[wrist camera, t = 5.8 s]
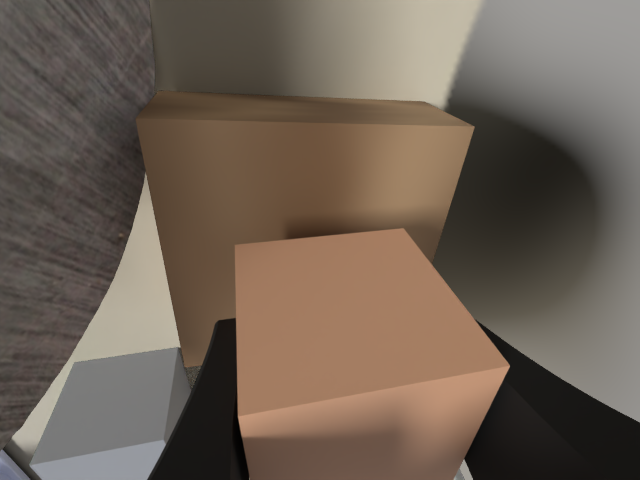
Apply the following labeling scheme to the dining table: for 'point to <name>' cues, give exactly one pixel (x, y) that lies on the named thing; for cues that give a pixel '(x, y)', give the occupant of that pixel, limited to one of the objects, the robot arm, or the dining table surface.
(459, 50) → the dining table surface
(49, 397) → the dining table surface
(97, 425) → the slate grey cube
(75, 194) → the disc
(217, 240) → the walnut block
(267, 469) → the terracotta cube
